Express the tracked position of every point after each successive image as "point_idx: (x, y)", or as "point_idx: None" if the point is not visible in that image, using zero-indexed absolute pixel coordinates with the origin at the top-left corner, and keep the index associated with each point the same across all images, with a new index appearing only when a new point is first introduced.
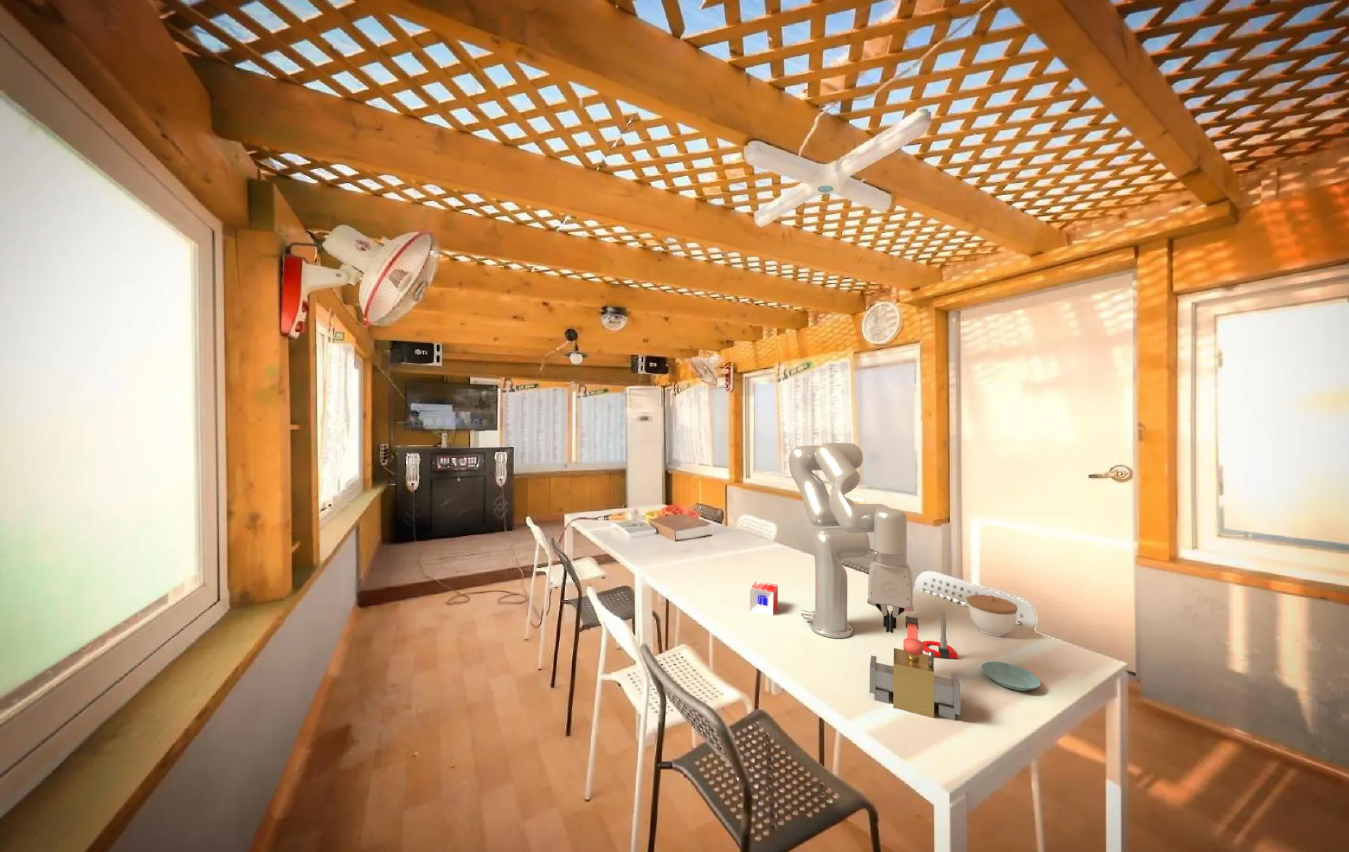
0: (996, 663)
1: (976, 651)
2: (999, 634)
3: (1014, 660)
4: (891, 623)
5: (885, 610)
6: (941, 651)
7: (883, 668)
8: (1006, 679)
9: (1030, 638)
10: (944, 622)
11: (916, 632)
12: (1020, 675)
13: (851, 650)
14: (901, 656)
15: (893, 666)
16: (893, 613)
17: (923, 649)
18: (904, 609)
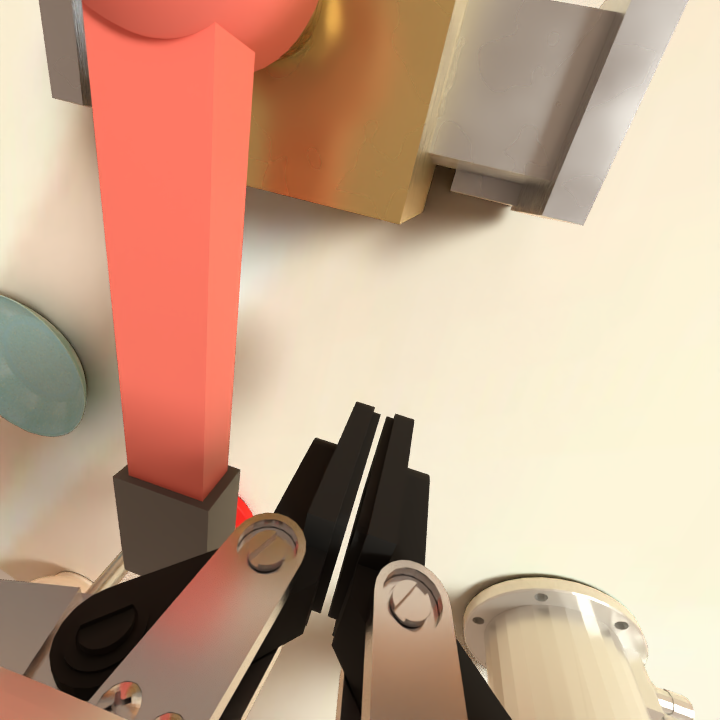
0: (52, 430)
1: (115, 507)
2: (60, 575)
3: (36, 470)
4: (351, 460)
5: (393, 650)
6: None
7: (524, 82)
8: (47, 368)
9: (12, 562)
10: (94, 584)
11: (121, 299)
12: (12, 388)
13: (514, 500)
14: (372, 24)
15: (431, 147)
16: (279, 574)
17: (249, 510)
18: (72, 629)
